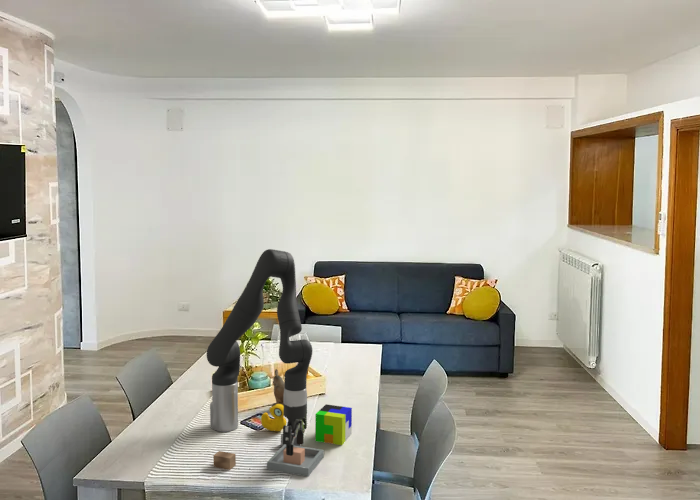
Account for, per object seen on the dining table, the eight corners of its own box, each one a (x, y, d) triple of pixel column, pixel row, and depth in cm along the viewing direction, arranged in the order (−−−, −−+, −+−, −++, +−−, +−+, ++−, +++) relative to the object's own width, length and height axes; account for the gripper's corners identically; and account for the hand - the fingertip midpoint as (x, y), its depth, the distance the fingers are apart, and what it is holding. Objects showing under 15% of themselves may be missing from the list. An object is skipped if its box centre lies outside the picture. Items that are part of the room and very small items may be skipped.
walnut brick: (213, 467, 202) (213, 455, 201) (219, 462, 205) (219, 450, 204) (230, 470, 200) (229, 458, 199) (235, 465, 203) (235, 453, 202)
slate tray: (267, 469, 200) (267, 461, 200) (284, 451, 213) (284, 444, 213) (308, 476, 196) (308, 468, 195) (323, 457, 209) (323, 449, 209)
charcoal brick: (283, 449, 215) (283, 437, 215) (280, 445, 219) (280, 433, 218) (300, 446, 217) (300, 435, 217) (297, 442, 221) (297, 431, 220)
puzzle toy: (351, 434, 228) (351, 407, 227) (342, 445, 218) (342, 417, 217) (325, 430, 231) (325, 404, 230) (315, 441, 222) (315, 413, 220)
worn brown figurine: (271, 416, 250) (261, 373, 248) (274, 411, 256) (265, 368, 254) (299, 412, 248) (290, 368, 246) (302, 407, 254) (293, 364, 252)
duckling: (293, 428, 232) (293, 402, 231) (290, 434, 227) (290, 407, 226) (263, 426, 234) (263, 400, 233) (259, 432, 228) (259, 406, 227)
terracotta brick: (283, 462, 204) (283, 450, 203) (287, 457, 207) (287, 446, 207) (300, 464, 202) (300, 453, 202) (304, 460, 205) (304, 448, 205)
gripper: (293, 392, 210) (292, 439, 212) (275, 407, 196) (275, 457, 198) (314, 395, 207) (313, 442, 209) (297, 410, 194) (297, 460, 196)
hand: (295, 449), depth 204 cm, fingers open, 8 cm apart
